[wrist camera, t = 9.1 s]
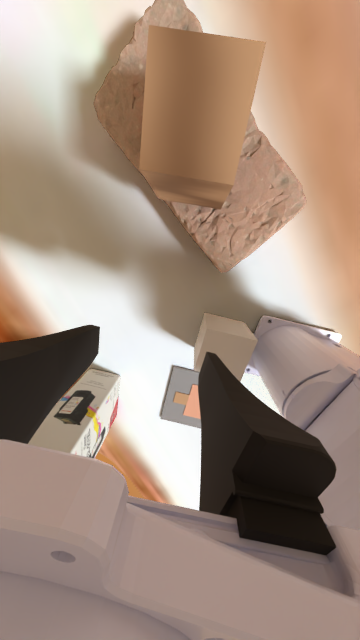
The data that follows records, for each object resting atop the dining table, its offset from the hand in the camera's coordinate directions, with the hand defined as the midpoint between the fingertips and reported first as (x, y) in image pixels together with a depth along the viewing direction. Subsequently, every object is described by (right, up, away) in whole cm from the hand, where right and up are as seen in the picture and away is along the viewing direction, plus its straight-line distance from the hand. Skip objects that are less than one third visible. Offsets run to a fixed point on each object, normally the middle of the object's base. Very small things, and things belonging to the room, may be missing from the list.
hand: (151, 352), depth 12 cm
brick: (+4, +16, +6) cm, 17 cm away
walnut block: (+3, +14, +1) cm, 14 cm away
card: (+3, -10, +14) cm, 18 cm away
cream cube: (+7, 0, +11) cm, 13 cm away
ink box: (-10, -9, +16) cm, 21 cm away
